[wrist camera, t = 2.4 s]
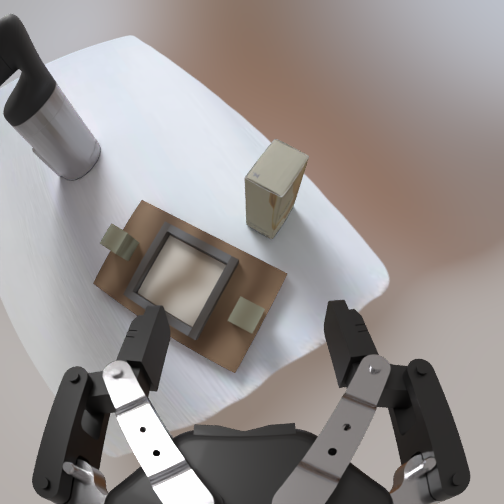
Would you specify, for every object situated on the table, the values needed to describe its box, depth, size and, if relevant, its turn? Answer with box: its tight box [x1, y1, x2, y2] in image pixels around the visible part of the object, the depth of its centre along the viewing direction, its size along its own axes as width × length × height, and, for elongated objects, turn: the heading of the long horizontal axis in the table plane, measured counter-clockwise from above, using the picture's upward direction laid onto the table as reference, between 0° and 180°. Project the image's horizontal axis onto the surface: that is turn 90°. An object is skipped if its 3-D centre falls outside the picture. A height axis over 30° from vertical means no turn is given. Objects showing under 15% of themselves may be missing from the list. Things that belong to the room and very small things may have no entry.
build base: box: [93, 200, 287, 373], centre depth 33 cm, size 23×14×6 cm, turn 62°
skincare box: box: [245, 139, 309, 239], centre depth 32 cm, size 6×4×12 cm
